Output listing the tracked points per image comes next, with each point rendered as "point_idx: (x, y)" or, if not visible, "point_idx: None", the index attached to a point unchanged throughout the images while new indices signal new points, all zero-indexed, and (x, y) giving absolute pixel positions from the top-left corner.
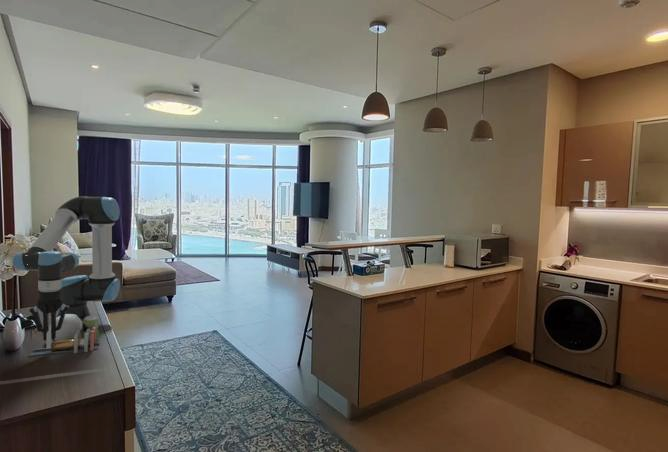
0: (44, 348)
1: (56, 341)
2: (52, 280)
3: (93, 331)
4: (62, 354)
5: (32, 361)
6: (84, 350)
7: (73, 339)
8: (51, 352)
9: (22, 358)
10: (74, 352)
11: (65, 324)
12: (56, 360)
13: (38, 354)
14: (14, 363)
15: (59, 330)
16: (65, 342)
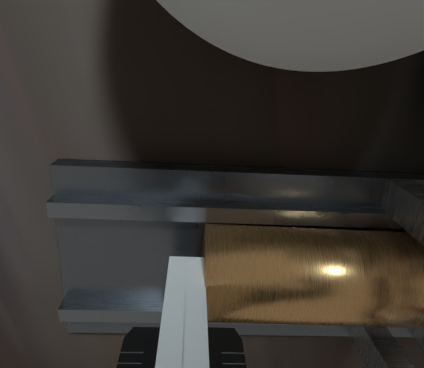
0: (137, 213)
1: (243, 309)
2: None
3: None
4: (280, 333)
5: (107, 334)
6: (422, 347)
7: (393, 306)
8: (209, 322)
9: (19, 261)
10: (356, 342)
11: (392, 30)
12: (246, 361)
13: (124, 319)
14: (5, 332)
15: (259, 58)
16: (319, 324)
